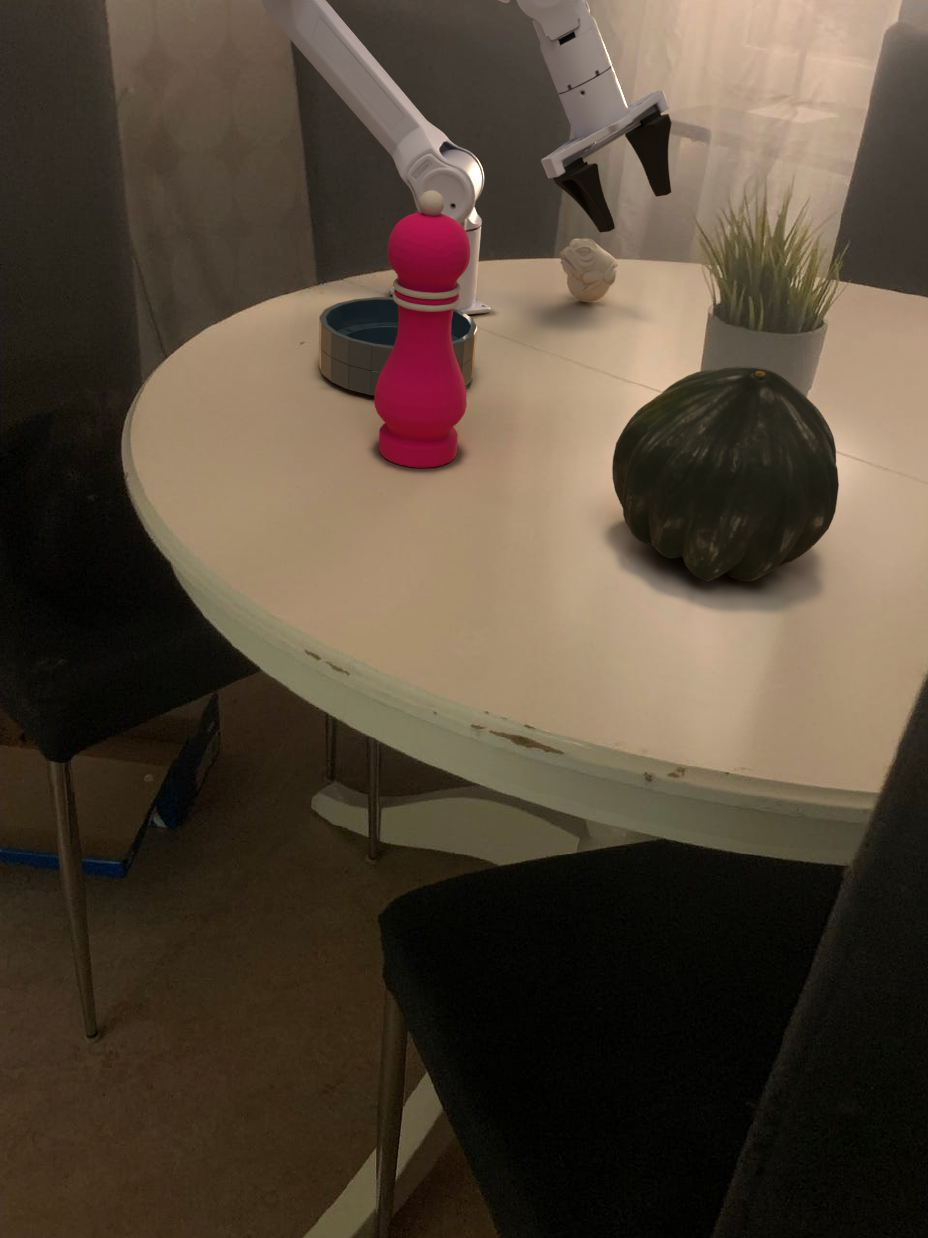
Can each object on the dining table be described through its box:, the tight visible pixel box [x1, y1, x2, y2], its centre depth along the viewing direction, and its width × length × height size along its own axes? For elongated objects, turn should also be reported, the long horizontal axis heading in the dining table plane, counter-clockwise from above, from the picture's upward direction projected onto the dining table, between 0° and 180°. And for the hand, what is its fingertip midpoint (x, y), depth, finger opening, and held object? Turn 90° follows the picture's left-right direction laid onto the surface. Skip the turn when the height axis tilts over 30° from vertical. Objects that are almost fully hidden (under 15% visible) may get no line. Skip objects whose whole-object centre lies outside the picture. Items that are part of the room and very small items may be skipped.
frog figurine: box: [559, 237, 619, 303], centre depth 123 cm, size 6×7×7 cm
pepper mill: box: [373, 190, 470, 469], centre depth 81 cm, size 7×7×20 cm
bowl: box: [318, 296, 478, 396], centre depth 99 cm, size 14×14×5 cm
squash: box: [611, 365, 840, 582], centre depth 73 cm, size 14×15×15 cm
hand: (635, 212), depth 111 cm, fingers open, 7 cm apart
